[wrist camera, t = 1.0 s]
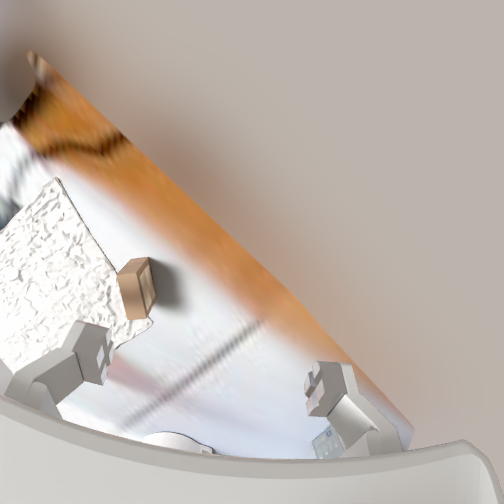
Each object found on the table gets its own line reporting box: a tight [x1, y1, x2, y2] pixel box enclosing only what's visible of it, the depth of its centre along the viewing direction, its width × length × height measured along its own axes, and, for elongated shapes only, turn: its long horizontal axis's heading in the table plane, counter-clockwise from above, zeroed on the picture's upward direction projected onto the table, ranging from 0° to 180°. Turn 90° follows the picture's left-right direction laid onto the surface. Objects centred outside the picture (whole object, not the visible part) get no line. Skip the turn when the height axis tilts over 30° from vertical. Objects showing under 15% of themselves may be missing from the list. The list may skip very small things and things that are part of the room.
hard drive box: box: [312, 425, 349, 459], centre depth 55 cm, size 16×8×20 cm, turn 53°
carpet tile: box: [0, 177, 153, 375], centre depth 49 cm, size 39×30×2 cm
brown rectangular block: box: [116, 257, 157, 320], centre depth 46 cm, size 7×3×8 cm, turn 6°
